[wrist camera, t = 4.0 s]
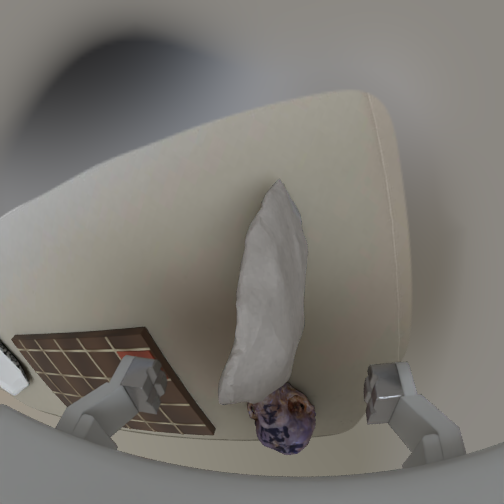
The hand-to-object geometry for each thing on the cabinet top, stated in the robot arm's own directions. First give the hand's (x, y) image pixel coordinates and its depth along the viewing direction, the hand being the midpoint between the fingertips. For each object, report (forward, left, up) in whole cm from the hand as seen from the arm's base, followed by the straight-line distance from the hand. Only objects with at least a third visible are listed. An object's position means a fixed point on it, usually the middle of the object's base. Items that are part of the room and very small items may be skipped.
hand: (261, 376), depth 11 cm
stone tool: (0, 0, -14) cm, 14 cm away
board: (+26, +23, -14) cm, 37 cm away
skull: (+1, +21, -14) cm, 25 cm away
